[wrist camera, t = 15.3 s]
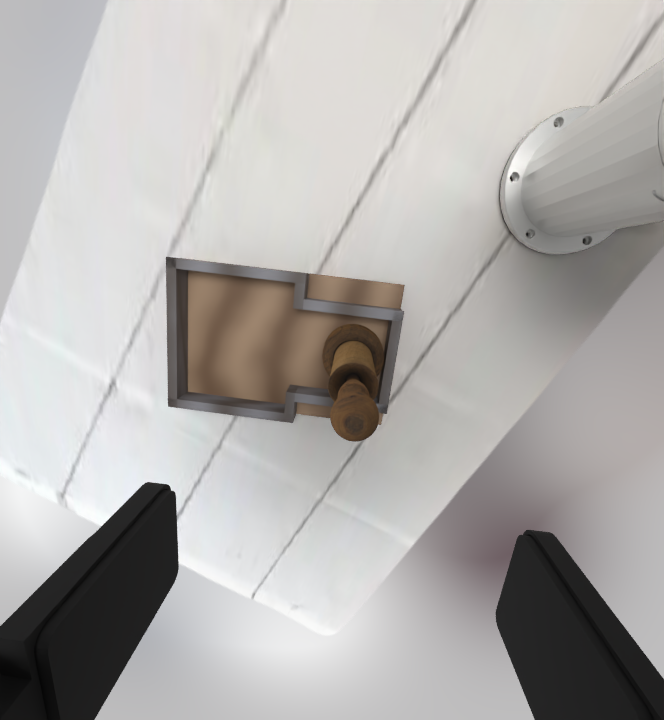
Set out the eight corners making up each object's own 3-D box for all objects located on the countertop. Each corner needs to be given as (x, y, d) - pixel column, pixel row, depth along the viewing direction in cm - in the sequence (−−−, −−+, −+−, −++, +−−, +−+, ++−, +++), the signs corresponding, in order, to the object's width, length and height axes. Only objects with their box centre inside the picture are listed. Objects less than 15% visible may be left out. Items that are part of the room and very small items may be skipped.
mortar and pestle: (311, 353, 37) (275, 425, 19) (351, 310, 35) (351, 347, 18) (354, 392, 38) (357, 495, 20) (395, 352, 36) (436, 425, 19)
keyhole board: (402, 284, 35) (408, 285, 32) (380, 421, 39) (382, 434, 36) (183, 258, 36) (165, 257, 32) (183, 395, 40) (168, 406, 37)
